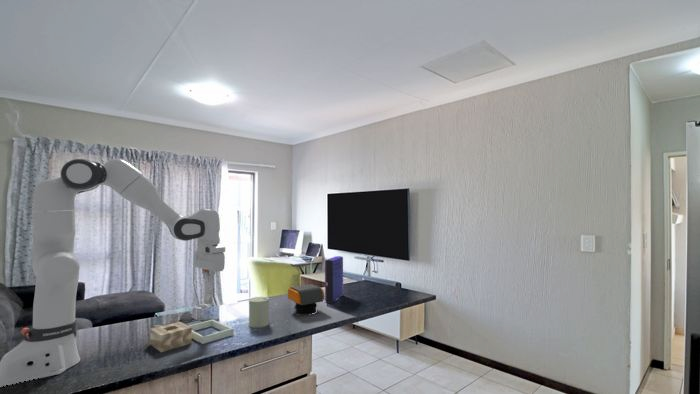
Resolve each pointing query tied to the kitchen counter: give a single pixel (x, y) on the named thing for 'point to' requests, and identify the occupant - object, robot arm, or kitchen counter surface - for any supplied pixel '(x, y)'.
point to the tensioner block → (170, 336)
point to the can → (258, 312)
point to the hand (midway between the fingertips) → (208, 280)
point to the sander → (306, 298)
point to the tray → (208, 338)
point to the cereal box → (333, 278)
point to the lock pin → (208, 288)
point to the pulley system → (186, 318)
